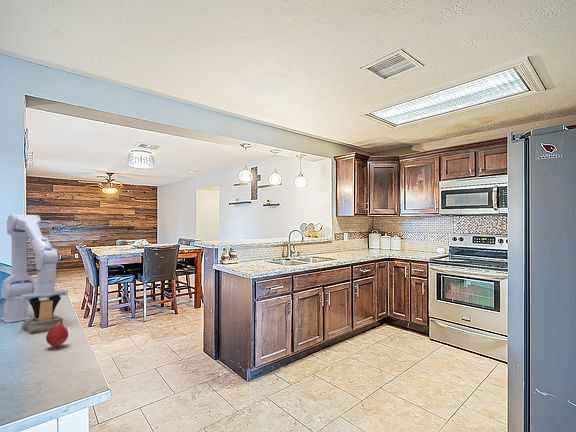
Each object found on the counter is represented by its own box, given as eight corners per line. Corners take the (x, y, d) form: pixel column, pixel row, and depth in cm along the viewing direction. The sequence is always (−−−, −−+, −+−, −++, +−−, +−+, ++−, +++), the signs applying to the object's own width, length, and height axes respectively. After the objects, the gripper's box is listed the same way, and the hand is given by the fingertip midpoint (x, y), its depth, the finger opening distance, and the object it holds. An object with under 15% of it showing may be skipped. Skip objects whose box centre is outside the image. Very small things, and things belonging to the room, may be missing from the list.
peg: (35, 322, 121) (36, 300, 122) (47, 319, 125) (49, 299, 125) (39, 324, 119) (40, 302, 120) (51, 321, 122) (53, 300, 123)
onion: (43, 351, 99) (45, 325, 99) (47, 345, 104) (49, 321, 104) (66, 349, 102) (67, 323, 102) (68, 343, 107) (70, 319, 107)
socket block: (21, 328, 121) (22, 319, 121) (52, 322, 129) (53, 314, 129) (31, 334, 114) (32, 324, 115) (63, 328, 123) (64, 318, 123)
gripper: (26, 284, 114) (23, 322, 114) (71, 280, 126) (69, 314, 126) (19, 282, 119) (17, 319, 118) (64, 278, 130) (62, 311, 130)
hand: (43, 316), depth 122 cm, fingers closed on peg, 4 cm apart
